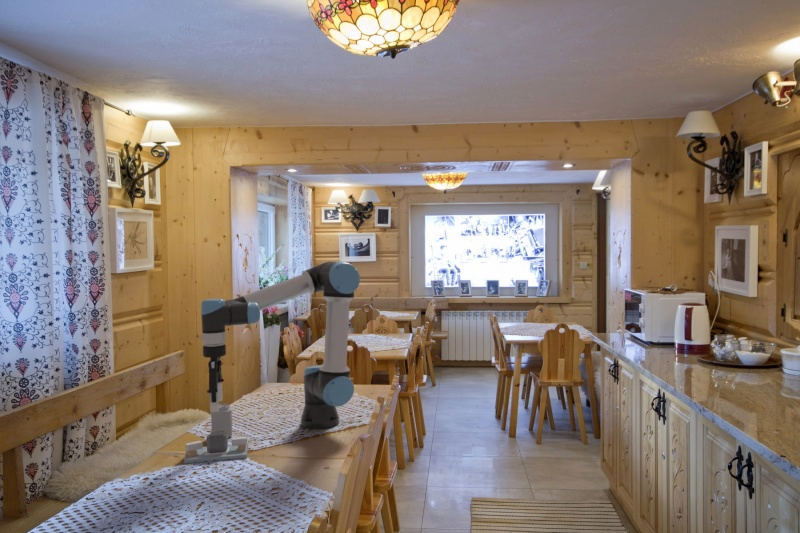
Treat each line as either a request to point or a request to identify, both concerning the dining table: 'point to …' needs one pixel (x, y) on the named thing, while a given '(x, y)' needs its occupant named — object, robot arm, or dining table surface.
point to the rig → (200, 453)
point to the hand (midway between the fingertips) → (216, 406)
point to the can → (222, 419)
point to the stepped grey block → (217, 442)
